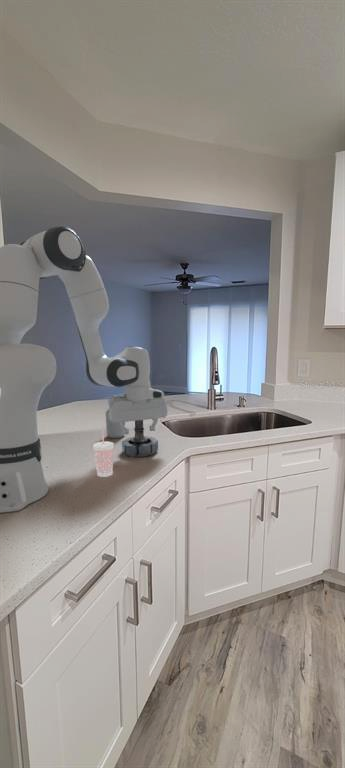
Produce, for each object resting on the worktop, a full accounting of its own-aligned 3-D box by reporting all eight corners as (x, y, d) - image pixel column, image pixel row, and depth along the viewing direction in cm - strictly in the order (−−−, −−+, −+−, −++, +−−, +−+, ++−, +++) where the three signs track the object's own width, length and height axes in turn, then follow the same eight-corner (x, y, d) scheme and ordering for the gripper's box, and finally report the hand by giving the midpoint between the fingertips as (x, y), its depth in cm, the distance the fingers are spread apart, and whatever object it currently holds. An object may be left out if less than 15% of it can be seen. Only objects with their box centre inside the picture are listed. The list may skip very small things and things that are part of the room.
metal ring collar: (127, 459, 112) (127, 448, 112) (119, 448, 123) (119, 438, 123) (161, 454, 116) (161, 443, 116) (151, 444, 128) (151, 434, 127)
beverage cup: (93, 471, 102) (90, 426, 101) (113, 468, 105) (111, 424, 103) (96, 479, 97) (93, 431, 95) (117, 475, 99) (115, 429, 97)
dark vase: (145, 452, 116) (144, 418, 115) (128, 451, 117) (128, 417, 116) (149, 447, 122) (149, 414, 120) (133, 446, 123) (133, 414, 121)
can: (127, 433, 143) (125, 405, 142) (122, 439, 136) (121, 409, 134) (109, 433, 144) (108, 406, 142) (104, 438, 136) (103, 409, 135)
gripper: (109, 397, 111) (111, 438, 112) (168, 392, 118) (169, 431, 119) (106, 394, 116) (108, 433, 118) (162, 390, 124) (163, 427, 125)
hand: (139, 432), depth 119 cm, fingers open, 8 cm apart
